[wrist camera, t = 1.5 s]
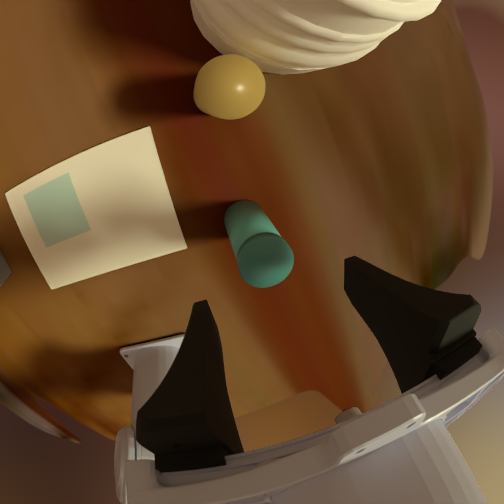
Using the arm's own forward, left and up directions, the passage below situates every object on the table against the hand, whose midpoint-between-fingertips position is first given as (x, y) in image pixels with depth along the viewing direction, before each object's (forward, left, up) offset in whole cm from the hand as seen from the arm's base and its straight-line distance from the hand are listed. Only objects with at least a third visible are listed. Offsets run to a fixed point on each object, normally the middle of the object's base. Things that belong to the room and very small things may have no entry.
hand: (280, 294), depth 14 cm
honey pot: (+17, -6, -10) cm, 21 cm away
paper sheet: (+4, +12, -10) cm, 16 cm away
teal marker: (0, 0, -10) cm, 10 cm away
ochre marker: (+10, 0, -10) cm, 14 cm away
